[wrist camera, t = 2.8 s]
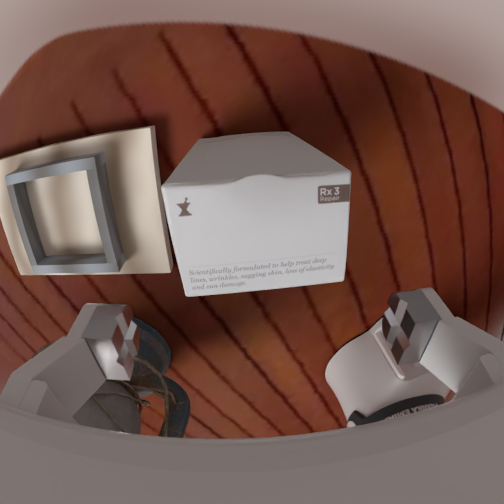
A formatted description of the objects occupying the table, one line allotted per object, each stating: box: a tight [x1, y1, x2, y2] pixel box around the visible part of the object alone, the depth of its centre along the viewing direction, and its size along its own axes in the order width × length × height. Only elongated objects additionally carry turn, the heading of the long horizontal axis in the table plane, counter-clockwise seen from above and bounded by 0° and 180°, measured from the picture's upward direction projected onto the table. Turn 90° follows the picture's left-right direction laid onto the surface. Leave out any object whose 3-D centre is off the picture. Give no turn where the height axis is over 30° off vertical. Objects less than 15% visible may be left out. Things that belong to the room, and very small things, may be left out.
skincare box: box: [161, 132, 351, 297], centre depth 20 cm, size 8×6×15 cm
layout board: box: [0, 126, 173, 275], centre depth 26 cm, size 20×14×4 cm
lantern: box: [31, 317, 190, 438], centre depth 24 cm, size 19×14×30 cm
